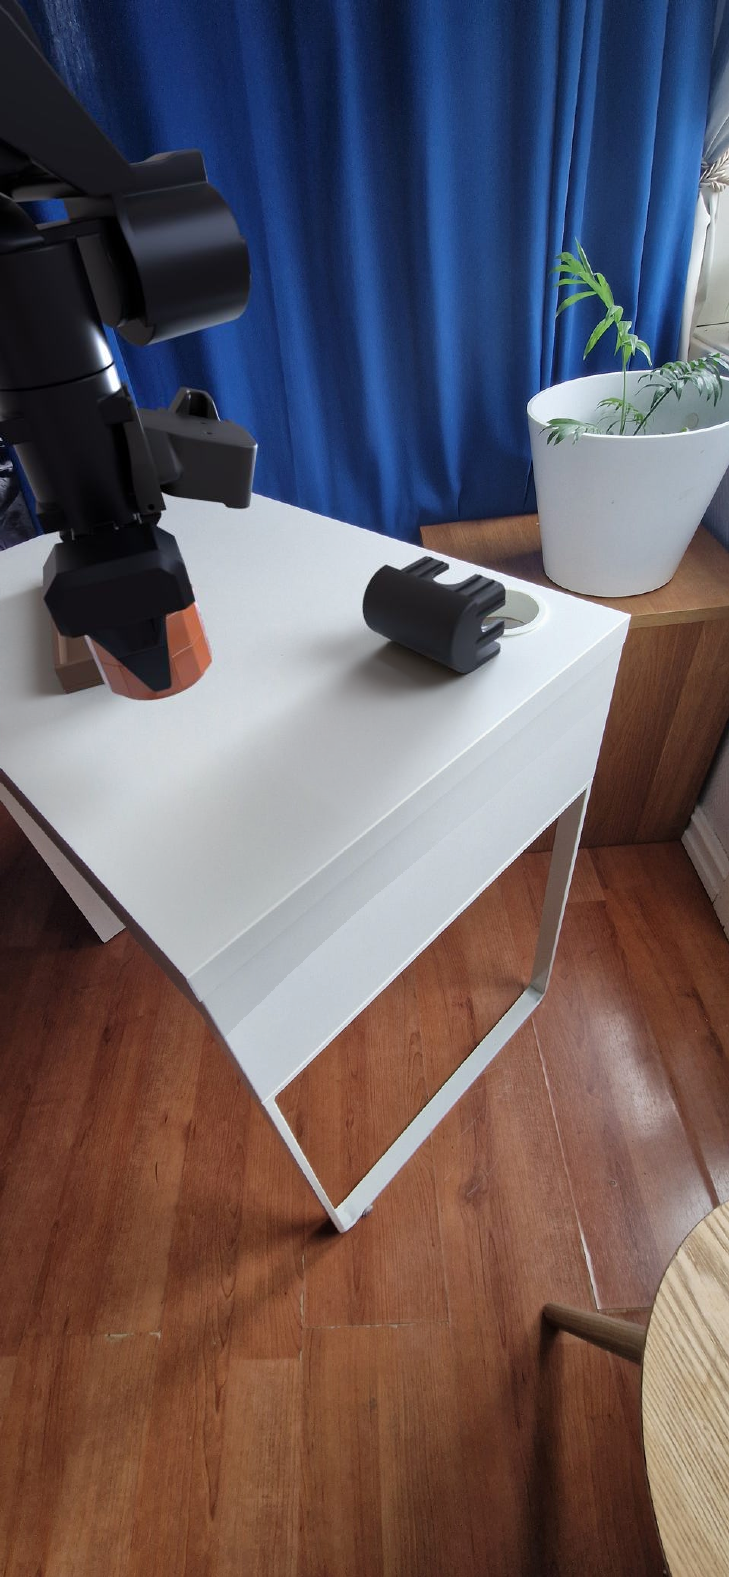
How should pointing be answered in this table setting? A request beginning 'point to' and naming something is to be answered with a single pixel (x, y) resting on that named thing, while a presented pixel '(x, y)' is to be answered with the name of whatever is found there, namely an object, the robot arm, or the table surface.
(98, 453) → the robot arm
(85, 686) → the tray
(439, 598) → the end cap
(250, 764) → the table surface
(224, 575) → the table surface
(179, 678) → the terracotta flower pot
